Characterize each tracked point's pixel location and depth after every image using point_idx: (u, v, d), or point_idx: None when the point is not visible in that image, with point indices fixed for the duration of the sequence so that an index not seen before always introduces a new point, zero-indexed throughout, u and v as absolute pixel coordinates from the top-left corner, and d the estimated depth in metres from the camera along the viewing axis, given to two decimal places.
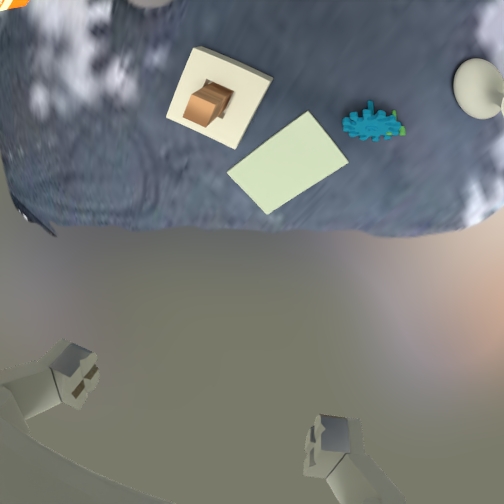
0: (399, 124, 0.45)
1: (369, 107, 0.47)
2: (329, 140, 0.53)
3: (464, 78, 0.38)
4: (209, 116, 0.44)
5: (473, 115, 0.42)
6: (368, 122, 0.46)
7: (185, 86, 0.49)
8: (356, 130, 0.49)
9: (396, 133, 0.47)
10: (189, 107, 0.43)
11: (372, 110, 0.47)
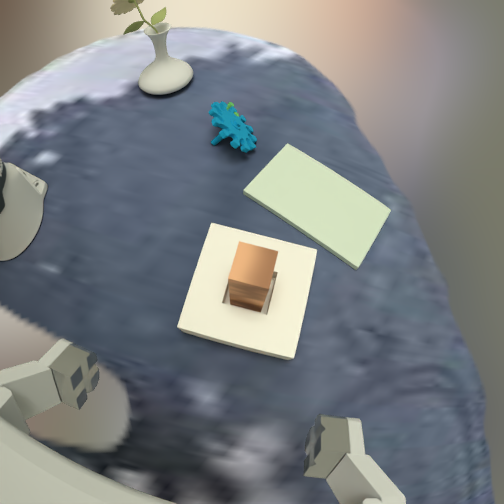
0: (220, 103, 0.49)
1: (217, 139, 0.50)
2: (270, 164, 0.49)
3: (159, 83, 0.53)
4: (259, 247, 0.32)
5: (190, 71, 0.56)
6: (227, 123, 0.47)
7: (238, 332, 0.37)
8: (244, 138, 0.49)
9: (233, 108, 0.51)
10: (250, 279, 0.31)
11: (219, 134, 0.50)
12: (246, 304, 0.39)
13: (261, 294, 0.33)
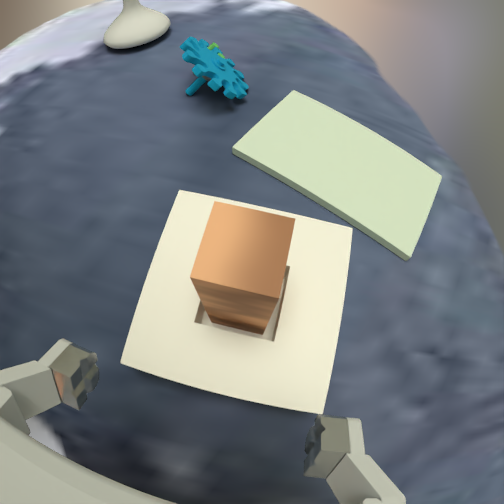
0: None
1: (193, 86, 0.34)
2: (271, 113, 0.33)
3: (126, 34, 0.37)
4: (255, 212, 0.15)
5: (166, 21, 0.40)
6: (206, 60, 0.30)
7: (223, 373, 0.20)
8: (229, 81, 0.32)
9: (217, 49, 0.34)
10: (238, 277, 0.14)
11: (196, 80, 0.34)
12: (237, 323, 0.22)
13: (263, 308, 0.16)
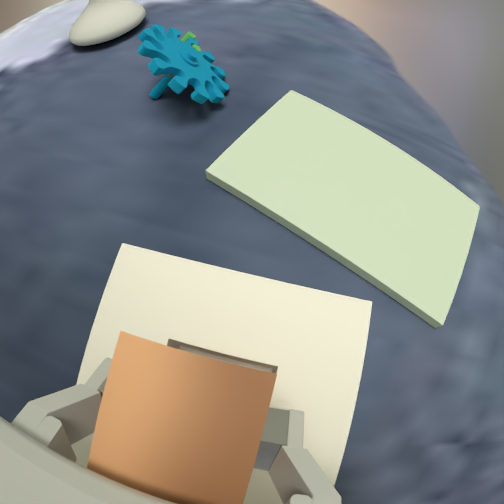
0: (168, 30, 0.25)
1: (158, 86, 0.26)
2: (260, 122, 0.25)
3: (92, 28, 0.29)
4: (196, 361, 0.07)
5: (140, 11, 0.32)
6: (170, 53, 0.22)
7: None
8: (201, 79, 0.24)
9: (192, 39, 0.26)
10: (164, 483, 0.06)
11: (162, 79, 0.26)
12: None
13: None
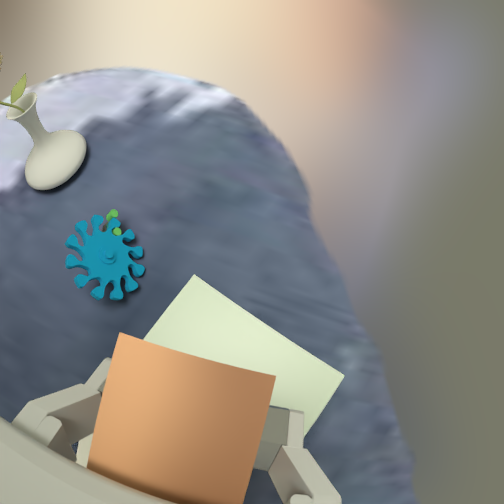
0: (92, 217, 0.33)
1: None
2: (166, 314, 0.34)
3: (40, 177, 0.38)
4: (195, 362, 0.07)
5: (80, 150, 0.41)
6: (90, 259, 0.31)
7: None
8: (117, 278, 0.33)
9: (114, 221, 0.35)
10: (164, 485, 0.06)
11: None
12: None
13: None
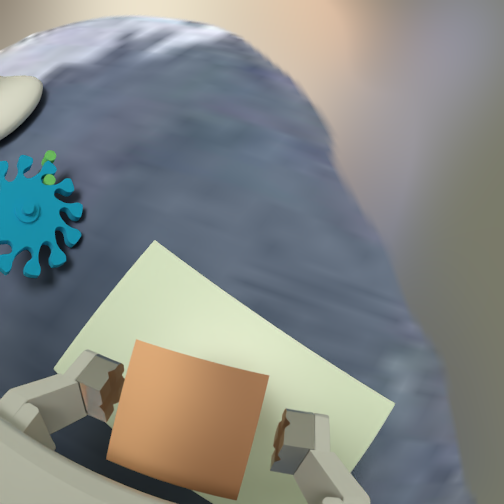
0: (19, 158, 0.20)
1: None
2: (108, 302, 0.20)
3: None
4: (201, 364, 0.09)
5: (33, 94, 0.27)
6: (2, 214, 0.18)
7: None
8: (35, 245, 0.19)
9: (47, 165, 0.22)
10: (174, 469, 0.07)
11: None
12: None
13: None
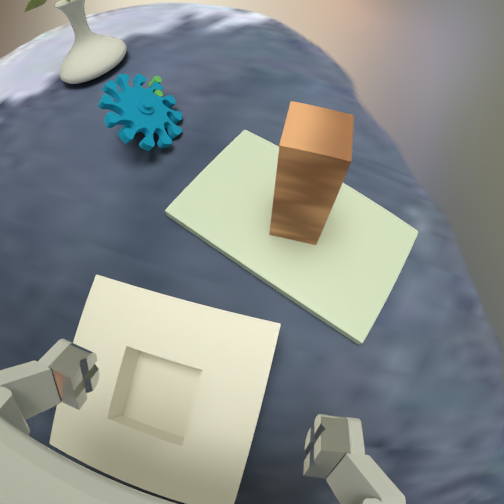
0: None
1: (123, 128, 0.32)
2: (213, 163, 0.30)
3: (78, 68, 0.35)
4: (323, 109, 0.18)
5: (121, 48, 0.37)
6: (126, 104, 0.28)
7: (134, 467, 0.17)
8: (151, 128, 0.29)
9: (156, 84, 0.32)
10: (317, 146, 0.17)
11: None
12: (297, 226, 0.25)
13: (332, 185, 0.19)
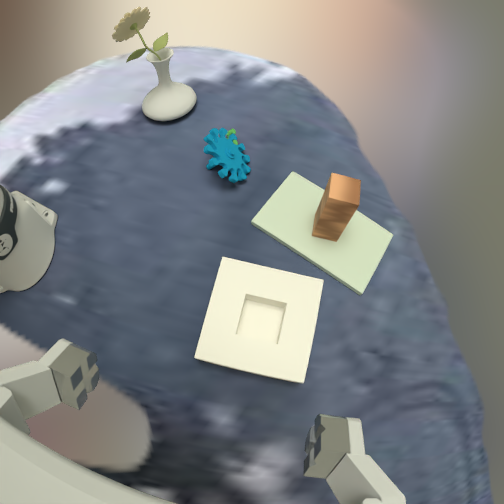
0: (220, 129, 0.51)
1: None
2: (276, 193, 0.52)
3: (163, 110, 0.56)
4: (346, 177, 0.40)
5: (194, 96, 0.59)
6: (220, 151, 0.49)
7: (251, 360, 0.39)
8: (235, 168, 0.51)
9: (233, 135, 0.53)
10: (344, 198, 0.39)
11: None
12: (328, 232, 0.47)
13: (349, 214, 0.41)
